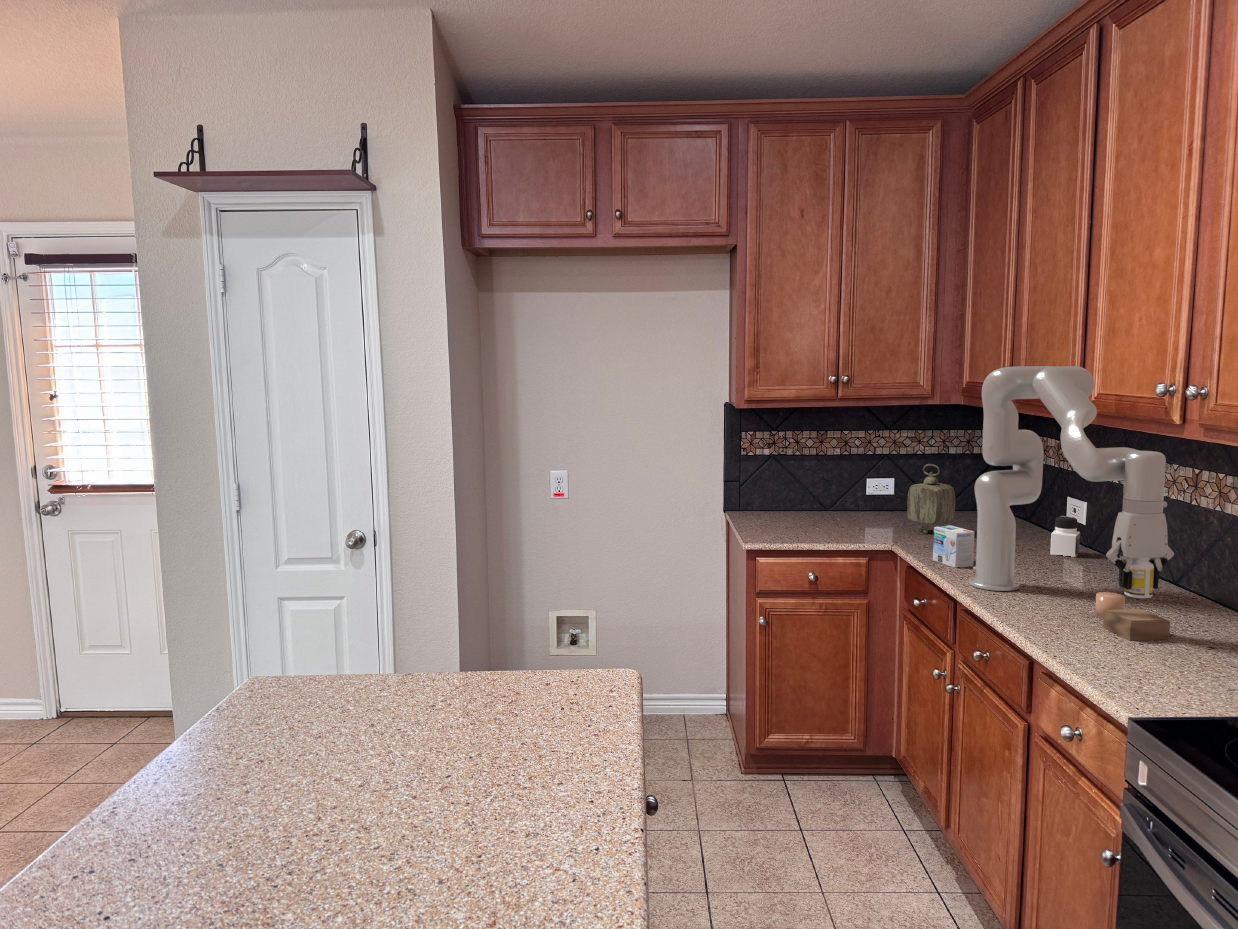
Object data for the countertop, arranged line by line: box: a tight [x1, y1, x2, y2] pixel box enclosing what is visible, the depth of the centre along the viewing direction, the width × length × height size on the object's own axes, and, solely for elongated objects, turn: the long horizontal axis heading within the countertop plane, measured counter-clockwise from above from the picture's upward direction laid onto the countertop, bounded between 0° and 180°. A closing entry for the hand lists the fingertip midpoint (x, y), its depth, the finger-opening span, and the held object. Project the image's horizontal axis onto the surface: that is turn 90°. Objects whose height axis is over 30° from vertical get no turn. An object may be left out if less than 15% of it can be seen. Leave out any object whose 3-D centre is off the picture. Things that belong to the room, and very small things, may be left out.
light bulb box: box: [932, 525, 976, 568], centre depth 250 cm, size 11×7×11 cm, turn 18°
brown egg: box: [1094, 591, 1126, 619], centre depth 197 cm, size 6×6×5 cm
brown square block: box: [1102, 608, 1171, 641], centre depth 184 cm, size 9×9×4 cm
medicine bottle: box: [1049, 515, 1081, 558], centre depth 260 cm, size 7×7×12 cm
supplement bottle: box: [1123, 558, 1154, 599], centre depth 182 cm, size 5×5×10 cm
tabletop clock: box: [906, 463, 956, 535], centre depth 295 cm, size 14×9×25 cm, turn 32°
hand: (1138, 586), depth 183 cm, fingers closed on supplement bottle, 5 cm apart
